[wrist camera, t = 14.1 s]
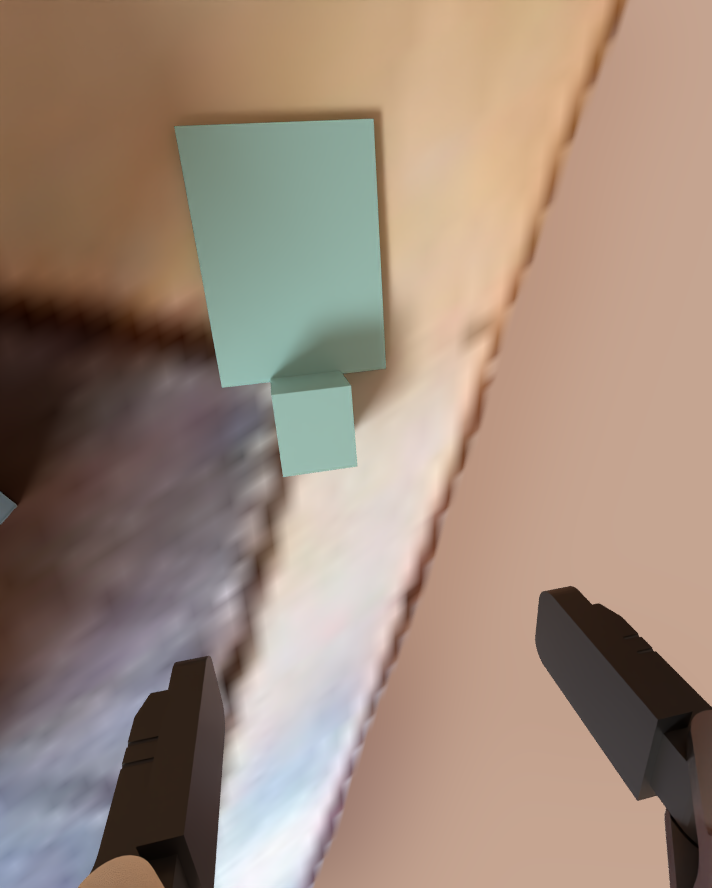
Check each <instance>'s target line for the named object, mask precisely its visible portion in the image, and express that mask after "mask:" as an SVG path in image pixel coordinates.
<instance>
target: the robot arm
mask: <svg viewBox="0 0 712 888" xmlns="http://www.w3.org/2000/svg"><path fill="white" fill-rule="evenodd" d="M535 641H536V647H537V651H538V654H539V657H540V659H541V661H542V663H543V665H544V666H545V667H546V669H547V671H548V672H549V673H550V675H551V676H552V678H553V679H554V681H555V682H556V684H557V685H558V686H559V688H560V689H561V691H562V692H563V694H564V695H565V697H566V698H567V700H568V701H569V702H570V704H571V705H572V707H573V708H574V710H575V711H576V712H577V714H578V715H579V717H580V718H581V720H582V721H583V723H584V724H585V726H586V727H587V728H588V730H589V731H590V733H591V734H592V736H593V737H594V739H595V740H596V742H597V743H598V744H599V746H600V747H601V749H602V750H603V752H604V753H605V755H606V756H607V757H608V759H609V760H610V762H611V763H612V765H613V766H614V768H615V769H616V770H617V772H618V773H619V775H620V776H621V778H622V779H623V781H624V782H625V784H626V785H627V786H628V788H629V789H630V791H631V792H632V793H633V795H634V797H635V798H636V800H638V801H639V800H642V799H646V798H650V797H653V796H658V797H659V798H660V800H661V801H662V803H663V804H664V805H665V807H666V811H665V831H666V843H667V855H668V868H669V880H670V888H712V707H711V706H710V705H709V704H708V703H707V702H706V701H705V700H704V699H703V698H702V697H701V696H700V695H699V694H698V693H697V692H696V691H695V690H694V689H693V688H692V687H691V686H690V685H689V684H688V683H687V682H686V681H685V680H684V679H683V678H682V677H681V676H680V675H679V674H678V673H677V672H676V671H675V670H674V669H673V668H672V667H671V666H670V665H669V664H668V663H667V662H666V661H665V660H664V659H663V658H662V657H661V656H660V655H659V654H658V653H657V652H654V651H653V649H652V647H651V646H650V645H649V644H648V643H647V642H646V641H645V640H644V639H643V638H642V637H639V635H638V633H637V632H636V631H635V630H634V629H633V628H632V627H631V626H630V625H629V624H628V623H627V622H626V621H625V620H624V619H623V618H622V617H621V616H620V615H618V614H616V613H615V612H613V611H611V610H609V609H608V608H606V607H604V606H603V605H601V604H593V605H592V604H591V603H590V602H589V601H588V600H587V599H586V598H585V597H584V596H583V595H582V594H581V593H580V591H579V590H578V589H576V588H575V587H572V586H569V587H563V588H558V589H553V590H548V591H543V592H542V593H541V594H540V597H539V605H538V616H537V626H536V635H535ZM224 736H225V719H224V708H223V703H222V698H221V694H220V690H219V686H218V682H217V678H216V674H215V671H214V667H213V663H212V659H211V657H210V656H205V657H200V658H195V659H190V660H185V661H180V662H176V663H175V664H174V666H173V669H172V673H171V678H170V683H169V688H168V690H165V691H160V692H155V693H150V695H149V696H148V698H147V699H146V701H145V702H144V704H143V705H142V707H141V708H140V710H139V711H138V713H137V714H136V716H135V718H134V721H133V725H132V729H131V733H130V736H129V740H128V748H126V751H125V755H124V759H123V762H122V769H121V770H120V774H119V777H118V781H117V785H116V789H115V792H114V796H113V800H112V804H111V807H110V811H109V815H108V819H107V822H106V826H105V830H104V834H103V837H102V841H101V845H100V849H99V852H98V856H97V859H96V862H95V864H94V866H93V869H92V871H91V873H90V875H89V876H88V877H87V878H86V879H85V880H84V881H83V882H82V883H81V884H80V885H79V887H78V888H214V877H215V863H216V849H217V835H218V820H219V806H220V792H221V778H222V764H223V750H224Z"/></svg>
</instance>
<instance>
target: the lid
mask: <svg viewBox="0 0 712 888" xmlns="http://www.w3.org/2000/svg"><path fill="white" fill-rule="evenodd" d="M174 128H175V134H176V139H177V144H178V150H179V155H180V161H181V166H182V172H183V177H184V183H185V188H186V194H187V199H188V204H189V210H190V215H191V221H192V226H193V232H194V237H195V243H196V248H197V254H198V259H199V264H200V270H201V275H202V281H203V286H204V292H205V297H206V303H207V308H208V314H209V319H210V325H211V330H212V335H213V341H214V346H215V352H216V357H217V363H218V368H219V374H220V379H221V385H222V388H223V387H231V386H240V385H249V384H257V383H266V382H271V395H272V402H273V409H274V416H275V423H276V430H277V437H278V444H279V451H280V458H281V464H282V471H283V477H287V476H294V475H301V474H308V473H315V472H322V471H329V470H336V469H342V468H349V467H356V466H357V455H356V443H355V430H354V417H353V405H352V392H351V385H350V384H349V382H348V381H347V379H346V378H345V377H344V375H343V374H344V373H353V372H362V371H370V370H379V369H386V359H385V339H384V319H383V299H382V279H381V259H380V239H379V219H378V199H377V179H376V159H375V139H374V119H352V120H326V121H299V122H272V123H246V124H219V125H193V126H174Z"/></svg>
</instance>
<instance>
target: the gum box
mask: <svg viewBox="0 0 712 888" xmlns="http://www.w3.org/2000/svg"><path fill="white" fill-rule="evenodd" d="M16 507H17V505H16V503H14V502H13V501H11V500H10V499H9V498H8V497H6V496H5V495H4V494H2V493H1V492H0V525H1V523H2V522H3V521H4V520H5V519H6V518H7V517H8V516H9V515H10V513H11V512H12V511H13V510H14V509H15V508H16Z"/></svg>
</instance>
